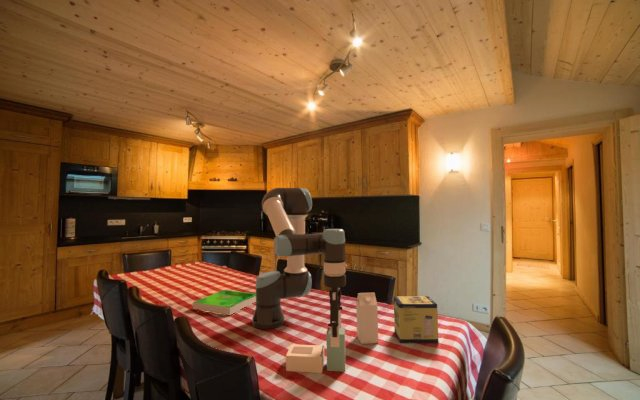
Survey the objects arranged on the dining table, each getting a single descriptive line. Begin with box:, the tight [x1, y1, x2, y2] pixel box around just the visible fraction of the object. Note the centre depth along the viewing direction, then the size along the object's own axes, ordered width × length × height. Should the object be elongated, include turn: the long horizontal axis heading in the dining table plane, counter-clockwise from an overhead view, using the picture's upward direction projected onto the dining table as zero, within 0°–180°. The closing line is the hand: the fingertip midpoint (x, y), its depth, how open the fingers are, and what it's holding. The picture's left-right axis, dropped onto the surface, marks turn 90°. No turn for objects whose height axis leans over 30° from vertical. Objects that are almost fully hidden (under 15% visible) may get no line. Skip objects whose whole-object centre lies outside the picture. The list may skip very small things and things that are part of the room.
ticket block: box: [285, 343, 325, 374], centre depth 97 cm, size 12×8×5 cm, turn 83°
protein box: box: [393, 295, 439, 344], centre depth 117 cm, size 10×16×16 cm
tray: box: [192, 289, 256, 315], centre depth 160 cm, size 25×25×5 cm
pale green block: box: [325, 326, 346, 372], centre depth 96 cm, size 6×5×12 cm
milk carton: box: [355, 292, 379, 345], centre depth 115 cm, size 7×7×19 cm
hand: (336, 337), depth 96 cm, fingers open, 13 cm apart
